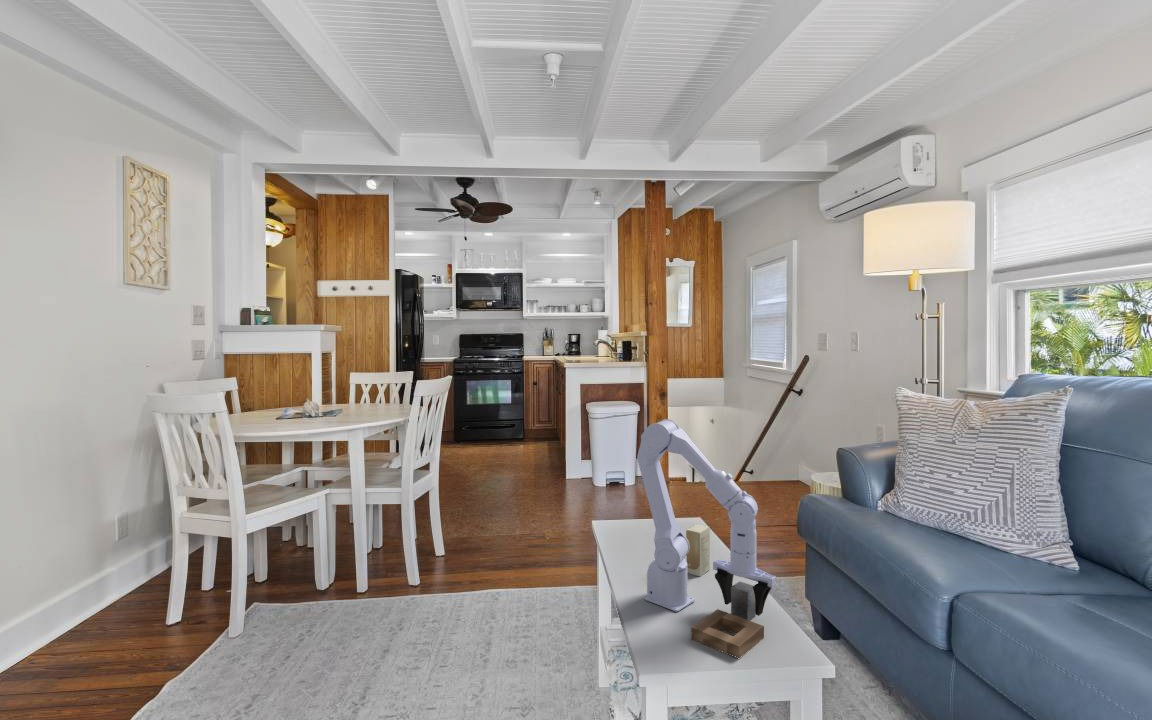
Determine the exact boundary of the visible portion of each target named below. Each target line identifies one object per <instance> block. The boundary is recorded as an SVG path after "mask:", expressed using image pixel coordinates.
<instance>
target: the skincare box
mask: <svg viewBox="0 0 1152 720" xmlns="http://www.w3.org/2000/svg"><path fill="white" fill-rule="evenodd" d="M710 532H711V530H710V526H707V525H702V524H697V523H696V524H693V525H692V526H690V527H688V528H687V529H686V530H685V535H686V536H685V537H686V538H687V540H688V542H689V545H690V549H689V552H688V554H687V555H686V562H687V574H690V575H693V576H695V577H696V576H697V577H702V576H704V575H705V574H706V573H707V572H709V571H710V570H711V551H710V550H711V547H710V546H711V545H710V544H711V539H710V537H711V535H710V534H711V533H710Z"/></svg>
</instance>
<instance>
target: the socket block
mask: <svg viewBox="0 0 1152 720" xmlns="http://www.w3.org/2000/svg"><path fill="white" fill-rule="evenodd" d="M690 630H691V631H690V632H691V634H690V635H691V640H693V641H696V642H698V643H700V644H703V645H705V646H708V647H709V648H712V649H715V650H717V651H719V650H720V652H721V651H723V652H722V653H724V652H725V653H724V654H726V653H728V654H727V655H729V654H731V655H733V656H736V657H738V658H740V657H741V656H742V655H743V654H745V653H746V652H747V651H748V650H749V651H750V650H752V649H753V648H754V647H755V646H756V645H757V644H758V643H760V642H761V641H762V640H764V638H765V625H762V624H759V623H756V622H754V621H752V620H751V621H749V620H746V619H743V618H741V617H738V616H735V615H732V614H731V612H730V613H729V612H727V611H725V610H720V609H719V608H717V609H716V610H714V611H713V612H711V613H710V614H708V615H707V616H705V617H704V618H703V619H701V620H699V621H698V622H697V623H696V624H694V625H693V626H691V629H690ZM722 630H725V631H726V632H727V631H728V632H730V633H733V634H735V635H730V634H728V633H725V632H723V631H722ZM760 640H761V641H760ZM759 641H760V642H759ZM753 646H754V647H753ZM752 647H753V648H752ZM749 651H748V652H749ZM748 652H747V653H748ZM747 653H746V654H747ZM746 654H745V655H746ZM731 655H730V656H731ZM733 656H732V657H733ZM743 656H744V655H743ZM743 656H742V657H743ZM736 657H735V658H736ZM742 657H741V658H742ZM738 658H737V659H738ZM741 658H740V659H741Z"/></svg>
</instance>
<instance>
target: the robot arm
mask: <svg viewBox="0 0 1152 720" xmlns="http://www.w3.org/2000/svg"><path fill="white" fill-rule="evenodd" d="M640 439H641V440H640V445H639V448H638V453H637V457H636V458H637V459H636V460H637V463H638V464H637V465H638V467H639V472H640V475H641V479H642V482H643V486H644V489H645V492H646V497H647V501H648V505H649V509H650V513H651V516H652V520H653V524H654V527H655V533H654V537H653V542H654V546H655V549H654V553H653V554H654V560H653V561H652V562H650V563H649V565H648V568H647V572H646V596H645V598H644V599H645V601H647V602H650V603H654V604H655V605H657V606H660V607H663V608H666V609H669V610H670V611H673V612H676V613H678V612H679V611H682V609H685V608H686V607H687V606H690V605H691V604H692V603H694V602H695V598H693V597H691V596H688V595H689V594H688V592H689V591H688V590H689V589H688V587H689V586H688V585H689V584H688V583H689V582H688V573H687V558H686V557H687V554H688V552H689V549H690V545H689V542H688V540H687V538H686V536H685V534H684V533H683V529H682V527H681V526H680V525H679V524H678V522H677V520H676V517H675V516H676V515H675V513H674V509H673V506H672V502H671V498H670V495H669V490H668V487H667V483H666V479H665V476H664V472H663V468H662V465H661V458H662V457H663V456H664V454H665V453H666V452H667V453H672V454H677V455H680V456H682V457H683V458H684V459H685V460H686V462H688V463H689V464H690V465H691V466H692V467H693V469H695V471H697V472H698V473H699V474H700V475H701V477H703V478H704V480H705V481H704V482H705V484H704V485H705V488H706V489H707V490H708V491H709V492H710V493H711V495H712V496H713V497H714V499H716V500H717V502H718V503H720V505H721V506H722V507H723V508H724V509H726V511H727V516H728V519H729V521H730V525H731V526H730V529H729V530H730V533H729V534H730V537H729V538H730V540H729V542H730V550H729V551H730V556H729V557H730V560H729V561H727V560H722V559H718V558H717V559H715V560H714V561H712V570H713V571H716V573H714V578H715V579H716V582H717V583H718V585H719V588H720V590H721V593H722V597H723V601H724V604H725V605H729V604H731V587H732V586H733V580H734V576H736V577H739V578H744V579H747V580H751V581H754V582H756V584H754V585H753V590H754V594H755V613H756V616H761V615H762V614H763V613H764V608H765V603H766V601H767V598H768V595H769V594H770V591H771V590H772V588H773V587H775V586H776V583H777V577H776V575H772V574H770V573H768V572H766V571H764V570H761V569H760V568H758V567H757V529H756V528H757V523H756V520H757V519H756V516H757V515H758V512H759V511H758V510H759V507H758V503H757V501H756V500H755V497H754V496H752V495H750V494H748V493H747V491H746V490H742V489H741V487H739V485H738V484H737V483H736V482H735V481H734V480H733V479H732V478H734V477H733V475H732V474H731V473H730V472H728V473H726V472H725V471H724V470H721V469H716V468H715V467H714V465H712V463H711V462H710V461H709V459H707V457H706V456H705V455H704V453H702V452H701V450H700V449H699V447H698V446H697V445H695V443H694V442H693V441H692V439H691V438H690V437H689V435H688V434H687V433H686V432H685V430H684V429H682V428H681V427H679V425H678V423H677V422H675V421H674V420H673V419H669V418H665V419H661V420H659V421H658V422H654V423H651V424H649V425H648V426H647V427H646V429H644V431H643V432H642V434H641V435H640Z"/></svg>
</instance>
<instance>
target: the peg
mask: <svg viewBox="0 0 1152 720" xmlns="http://www.w3.org/2000/svg"><path fill="white" fill-rule="evenodd" d="M753 586H754V585H752V584H749V583H745V582H743V581H738V582H736V583H735V584H732V587H731V603H730V614H732V615H735V616H738V617H741V618H743V619H746V620H749V621H752V620H753V619H755V618H756V616H757V615H756V613H755V594H754V590H753Z"/></svg>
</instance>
